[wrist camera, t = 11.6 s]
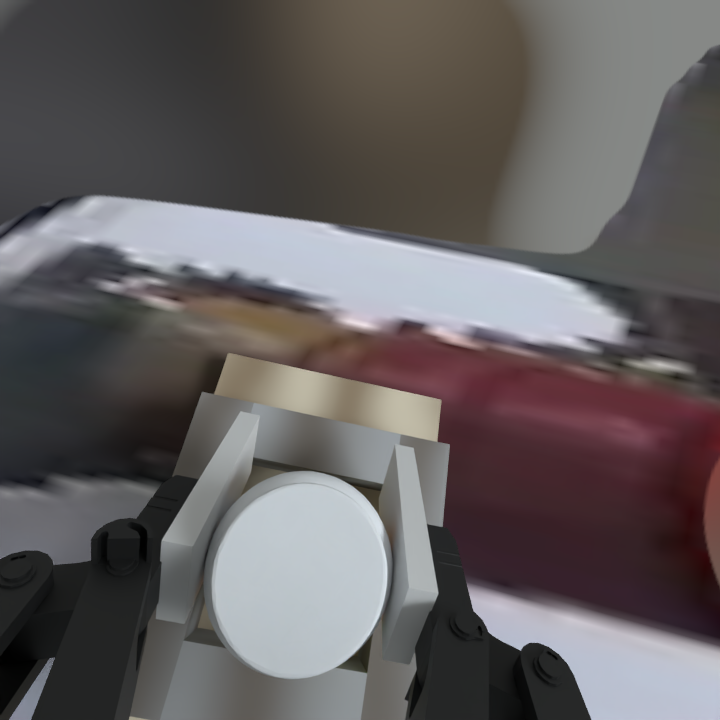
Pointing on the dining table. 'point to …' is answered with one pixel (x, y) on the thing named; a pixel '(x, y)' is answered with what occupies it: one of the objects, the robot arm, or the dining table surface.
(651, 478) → the dining table surface
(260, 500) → the supplement bottle
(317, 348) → the dining table surface
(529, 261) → the dining table surface
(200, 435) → the socket board
